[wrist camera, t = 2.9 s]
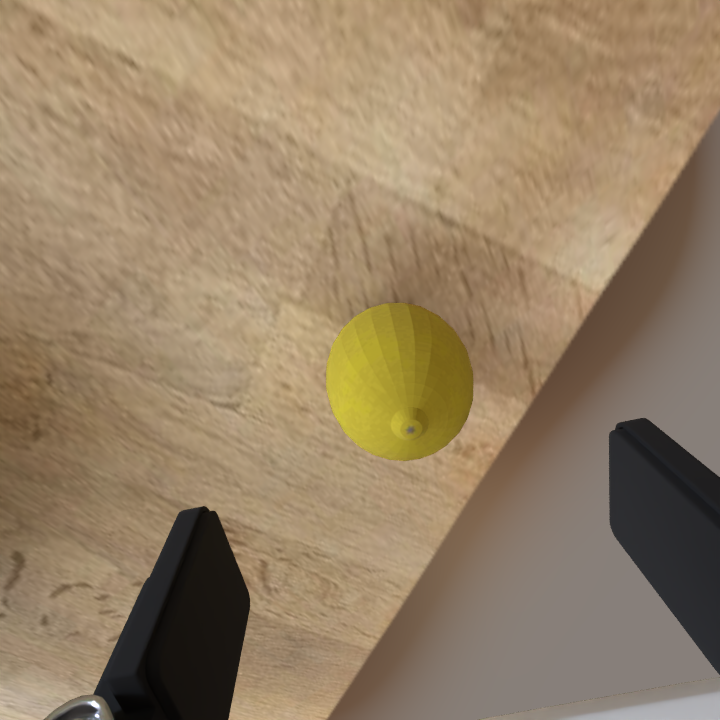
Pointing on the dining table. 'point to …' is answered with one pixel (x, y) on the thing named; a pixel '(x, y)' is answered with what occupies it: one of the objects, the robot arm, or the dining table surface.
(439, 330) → the lemon
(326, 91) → the dining table surface
